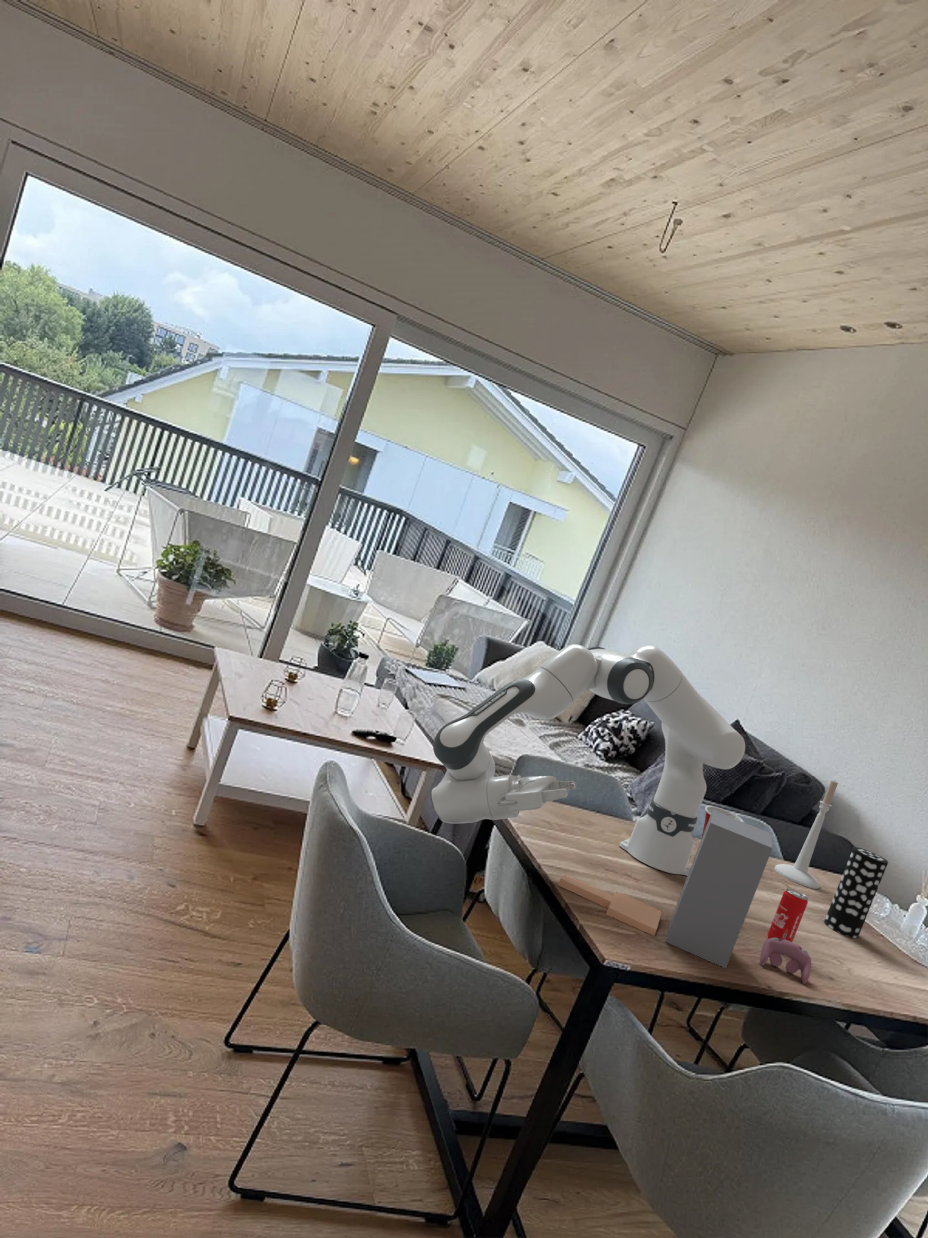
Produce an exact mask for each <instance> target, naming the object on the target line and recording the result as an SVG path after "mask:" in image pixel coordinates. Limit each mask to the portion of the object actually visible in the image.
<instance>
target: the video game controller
mask: <svg viewBox="0 0 928 1238" xmlns="http://www.w3.org/2000/svg"><path fill="white" fill-rule="evenodd" d="M781 955H782V956H785V957H787V958H789V959H791V960H789V961H787V963H786V964H785V970H786V972H787V973H789V974H795V973H797V972H798V971H800V976H801V977H800V979H801V983H802V984H803V985H805V984H807V983H808V981H809V979H810V975H811V970H812V959H811V955H809V952H808V951H807V950H805V949H804V948H803V947H801V946H800V945H798V944H796V943H795V942H794V941H793V942H790V941H788V940H785V939H779V938H770V939H768V938H767V939H766V940H765V941H764V943H763V945H762V948H761V951H760V956H759V963H760V965H761V967H763V966H765V965H766V964H767V962H768V960H769V962H770V964H771V965H772V966H773V967H775V966H776V967H780V966H781V965H782V963H783V957H782V956H781ZM776 967H775V968H776Z"/></svg>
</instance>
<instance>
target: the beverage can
mask: <svg viewBox="0 0 928 1238" xmlns="http://www.w3.org/2000/svg"><path fill="white" fill-rule="evenodd" d="M808 900H809V897H808V896H807V895H806V894H804V893H802V892H800V891H798V890H796V889H793V888H789V887H787V888H786V889H785V890H784V891H783V893H782V896H781V898H780V901H779V903H778V906H777V909H776V911H775V914H774V917H773V919H772V922H771V924H770V927H769V930H768V932H767V940H768V939H770V938H779V939H785V940H788V941H790V942H793V943H794V938H795V936H796V934H797V931H798V929H799V926H800V924H801V921H802V918H803V916H804V913H805V911H806V908H807V906H808V903H809V902H808Z"/></svg>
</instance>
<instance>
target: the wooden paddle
mask: <svg viewBox="0 0 928 1238" xmlns="http://www.w3.org/2000/svg"><path fill="white" fill-rule="evenodd" d="M557 885H558V886H559V887H561V888H563V889H565V890H566V891H569V892H572V893H573V894H576V895H579V896H580V897H583V898H585V899H587V900H589V901H591V902H594V903H596V904H598V905H600V906H602V907H603V908H604V907H605V908H607V910H606V913H605V915H606V916H608V915H609V916H608V917H611V918H613V917H614V918H613V919H615V920H617V919H618V921H620V922H623V923H624V924H626V923H627V925H629V926H631V927H633V926H634V927H633V928H635V927H636V929H638V930H640V931H642V930H643V931H642V932H644V933H646V932H647V933H646V934H649V935H652V936H653V937H654V936H655V935H656V932H657V930H658V927H659V924H660V923H659V922H660V919H661V915H662V911H661V910H659V909H657V908H655V907H653V906H651V905H648V904H647V903H644V902H641V901H639V900H637V899H634V898H632V897H630V896H629V895H626V894H623V893H621V892H619V891H617V890H616V891H615V893H614V895H613V894H612V895H611V894H610V893H608V892H606V891H603V890H601V889H599V888H596V887H595V886H592V885H590V884H587V883H585V882H584V881H580V880H579V879H576V878H574V877H572V876H570V875H567V874H566V873H563V874H562V876H561V878H560V879H559V881H558V884H557Z"/></svg>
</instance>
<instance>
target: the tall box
mask: <svg viewBox="0 0 928 1238" xmlns="http://www.w3.org/2000/svg"><path fill="white" fill-rule="evenodd" d="M702 834H703V833H702ZM773 847H774V846H773V842H772V834H771V832H768V831H765V830H763V829H761V828H758V827H756V826H754V825H751V824H748V823H745V821H744V822H741V821H739V820H736V819H734V818H731V817H729V816H726V815H724V814H722V813H719V812H717V811H714V810H712V813H711V816H710V818H709V821H708V823H707V826H706V829H705V831H704V834H703V836H702V835H701V839H700V842H699V845H698V847H697V850H696V851H695V852H696V853H695V855H694V857H693V860H692V864H691V865H690V867H691V868H690V871H689V873H688V876H686V879H685V881H684V885H683V886H682V889H681V892H680V894H679V896H678V899H677V902H676V906H675V907H674V911H673V913H672V915H671V917H670V921H669V924H668V928H667V933H666V936H665V943H668V944H669V945H672V946H674V947H675V948H678V949H680V950H683V951H685V952H687V953H689V952H690V954H691V955H694V956H696V955H697V956H696V957H698V956H699V958H700V957H701V958H700V959H703V960H705V959H706V961H707V962H709V961H710V962H709V963H712V964H714V963H715V964H714V965H716V964H718V965H719V967H720V966H722V967H721V968H723V969H725V968H726V969H727V966H728V964H729V961H730V959H731V956H732V953H733V951H734V948H735V945H736V943H737V940H738V938H739V936H740V932H742V931H741V930H742V928H743V925H744V923H745V921H746V917H747V915H748V912H749V909H750V907H751V905H752V902H753V900H754V897H755V894H756V892H757V889H758V887H759V884H760V882H761V879H762V876H763V874H764V871H765V869H766V866H767V863H768V861H769V858H770V856H771V854H772V852H773ZM718 965H717V966H718Z"/></svg>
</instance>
